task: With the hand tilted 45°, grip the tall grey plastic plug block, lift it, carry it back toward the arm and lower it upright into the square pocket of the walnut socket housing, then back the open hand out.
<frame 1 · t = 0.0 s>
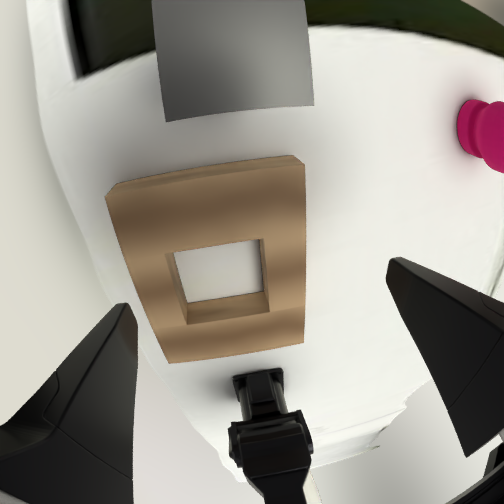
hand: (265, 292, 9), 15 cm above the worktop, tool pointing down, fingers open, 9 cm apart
drinking glass: (297, 463, 62), on the worktop
pepper mill: (472, 126, 22), on the worktop
socket housing: (219, 265, 26), on the worktop
plug block: (217, 72, 18), on the worktop
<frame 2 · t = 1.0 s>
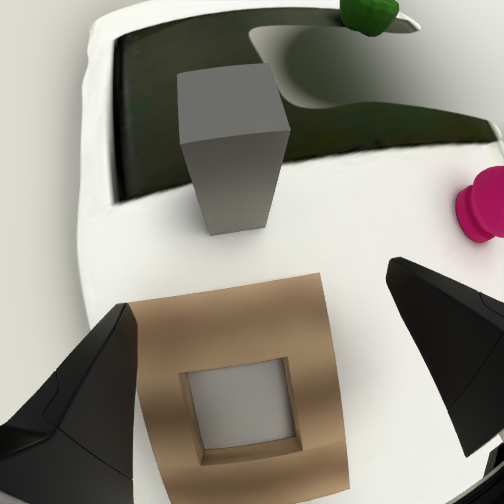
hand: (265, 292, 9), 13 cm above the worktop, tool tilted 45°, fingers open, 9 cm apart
bell pepper: (358, 28, 32), on the worktop
pepper mill: (472, 216, 25), on the worktop
socket housing: (241, 404, 20), on the worktop
plug block: (233, 205, 24), on the worktop
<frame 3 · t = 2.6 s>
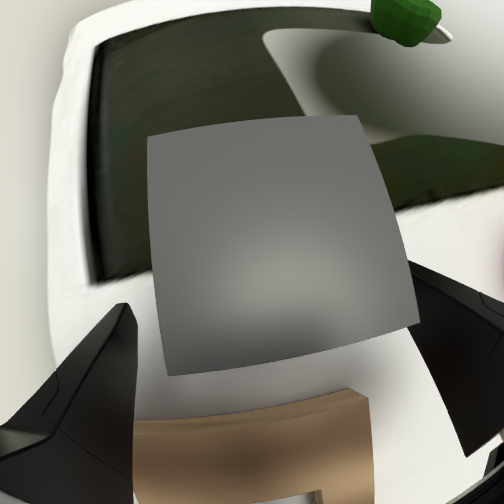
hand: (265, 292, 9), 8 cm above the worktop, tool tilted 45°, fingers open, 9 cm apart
bell pepper: (391, 36, 26), on the worktop
plug block: (252, 296, 18), on the worktop
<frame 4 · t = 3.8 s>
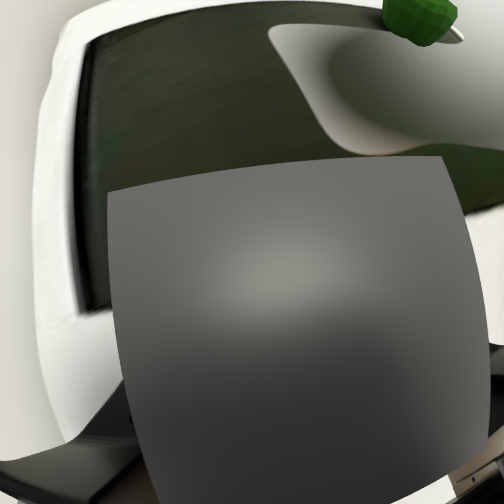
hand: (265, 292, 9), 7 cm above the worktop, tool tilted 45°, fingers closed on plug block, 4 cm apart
bell pepper: (404, 34, 24), on the worktop
plug block: (259, 330, 15), on the worktop, touching gripper
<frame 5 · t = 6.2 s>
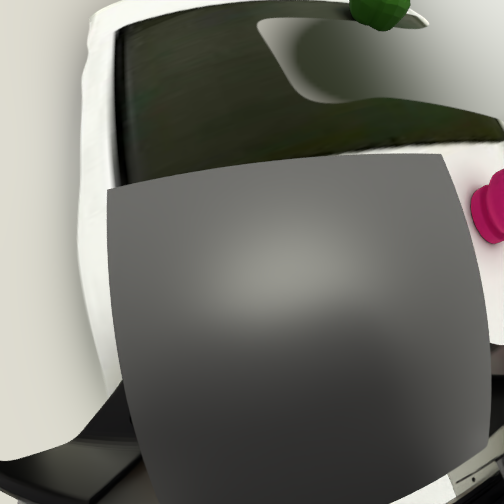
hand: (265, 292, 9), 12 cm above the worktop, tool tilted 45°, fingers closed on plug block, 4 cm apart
bell pepper: (368, 23, 30), on the worktop
pepper mill: (486, 217, 24), on the worktop
plug block: (259, 329, 15), point 5 cm above the worktop, touching gripper
when the fingers open (7 cm above the worktop, at t = 8.4 s): plug block stays where it is, resting in socket housing.
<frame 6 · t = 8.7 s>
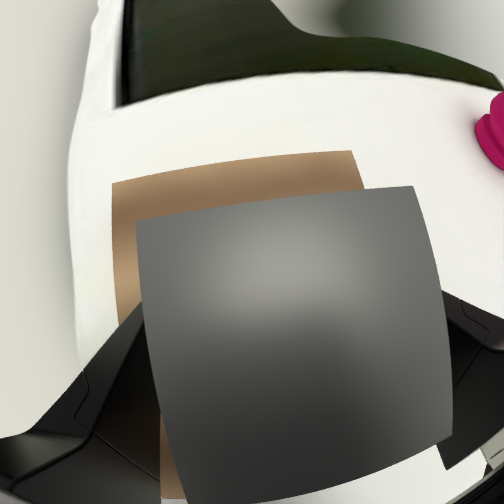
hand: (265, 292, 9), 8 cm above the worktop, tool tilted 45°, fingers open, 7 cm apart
pepper mill: (492, 146, 21), on the worktop
socket housing: (258, 329, 16), on the worktop
plug block: (258, 329, 16), resting in socket housing
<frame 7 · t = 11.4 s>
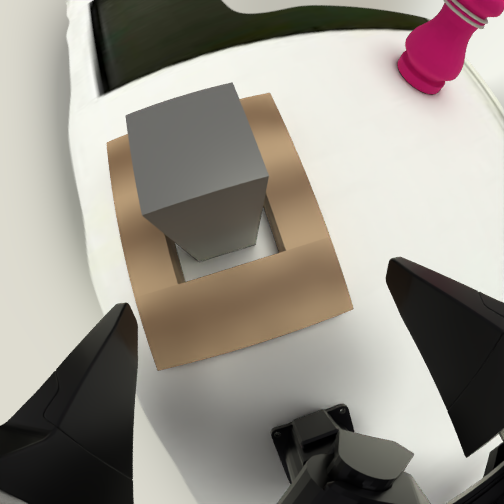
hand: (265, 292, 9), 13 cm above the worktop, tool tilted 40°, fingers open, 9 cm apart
pepper mill: (418, 76, 26), on the worktop
socket housing: (219, 225, 23), on the worktop
plug block: (219, 225, 23), resting in socket housing
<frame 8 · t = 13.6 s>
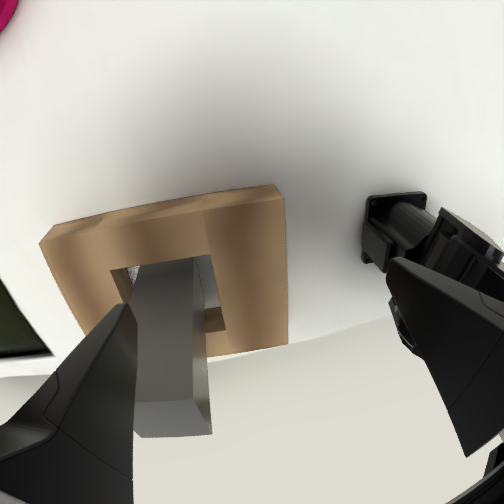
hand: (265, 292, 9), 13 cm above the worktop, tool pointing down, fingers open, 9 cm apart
socket housing: (173, 280, 24), on the worktop
plug block: (173, 280, 24), resting in socket housing
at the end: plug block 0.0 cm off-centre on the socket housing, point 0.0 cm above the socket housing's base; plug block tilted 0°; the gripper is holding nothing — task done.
